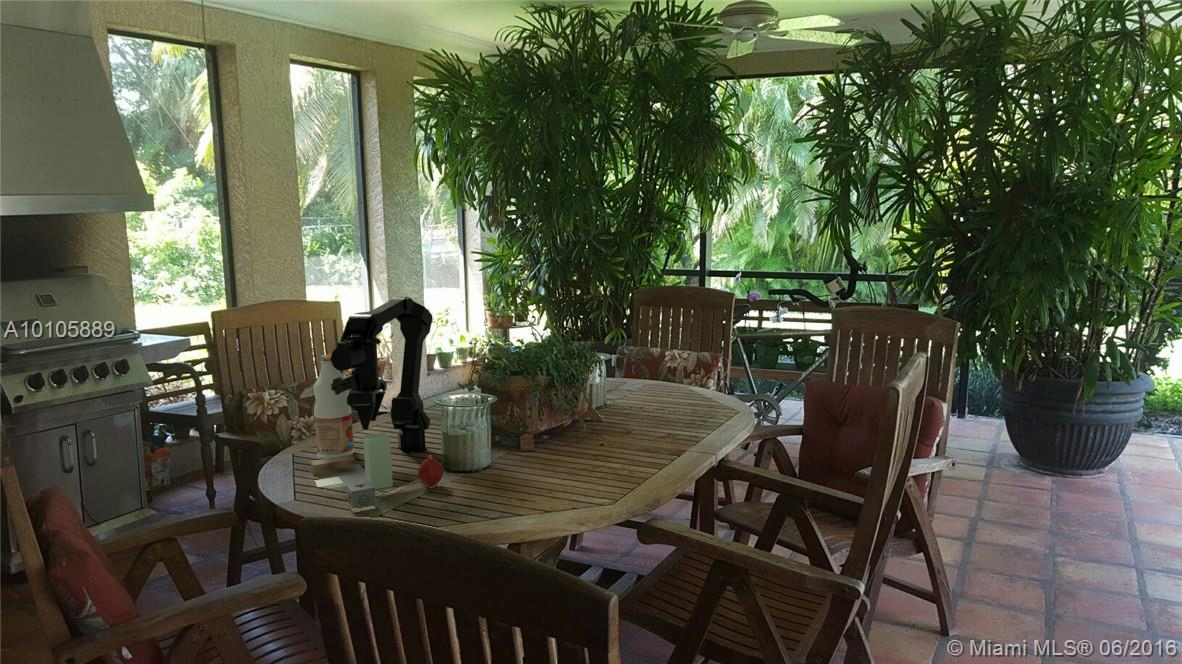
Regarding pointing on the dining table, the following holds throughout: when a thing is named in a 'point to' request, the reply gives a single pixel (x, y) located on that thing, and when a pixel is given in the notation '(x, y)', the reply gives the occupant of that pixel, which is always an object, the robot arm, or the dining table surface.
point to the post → (378, 460)
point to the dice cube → (361, 495)
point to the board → (342, 478)
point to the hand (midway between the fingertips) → (369, 425)
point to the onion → (430, 471)
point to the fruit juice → (331, 415)
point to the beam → (332, 465)
